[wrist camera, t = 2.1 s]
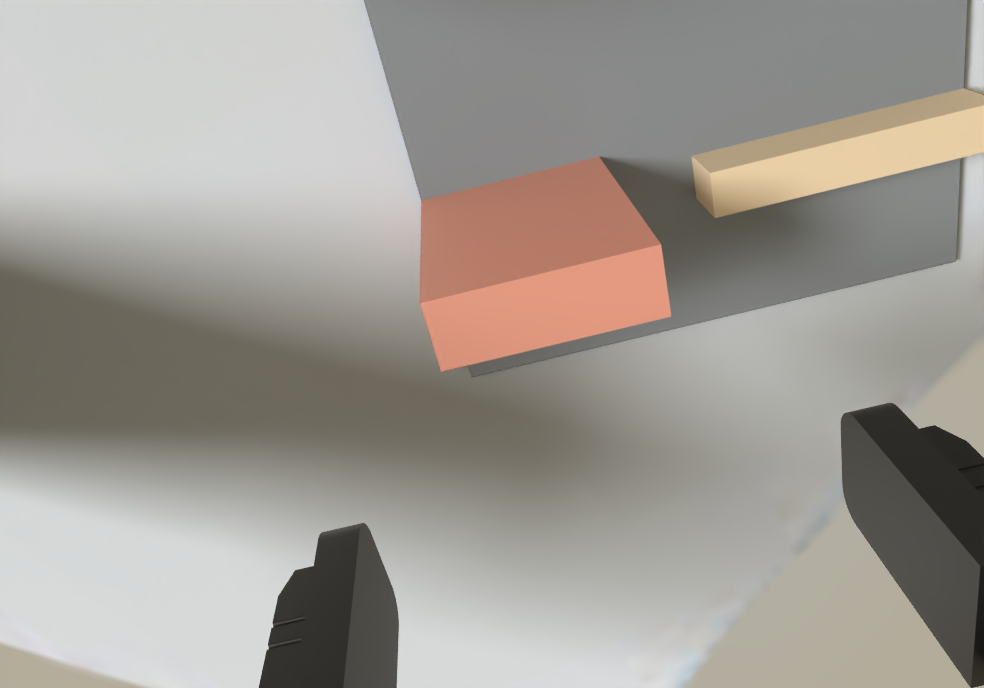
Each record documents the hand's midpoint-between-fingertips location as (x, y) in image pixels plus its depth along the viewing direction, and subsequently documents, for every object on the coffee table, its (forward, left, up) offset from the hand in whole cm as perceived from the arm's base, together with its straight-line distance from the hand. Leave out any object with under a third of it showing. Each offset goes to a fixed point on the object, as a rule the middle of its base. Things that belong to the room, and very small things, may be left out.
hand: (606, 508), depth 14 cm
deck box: (0, 0, -16) cm, 16 cm away
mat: (+6, +1, -16) cm, 17 cm away
